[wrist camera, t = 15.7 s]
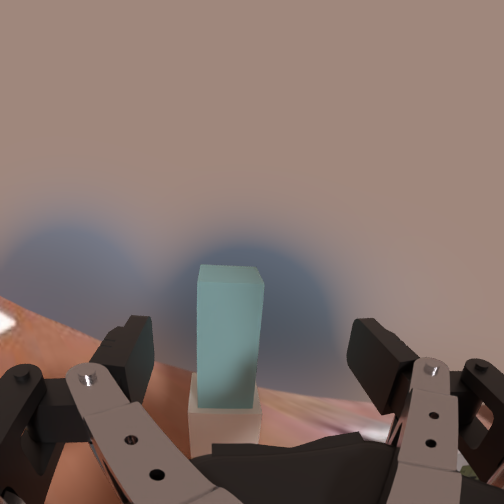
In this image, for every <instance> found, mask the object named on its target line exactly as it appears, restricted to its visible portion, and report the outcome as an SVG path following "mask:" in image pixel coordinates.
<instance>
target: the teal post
mask: <svg viewBox="0 0 504 504" xmlns="http://www.w3.org/2000/svg"><path fill="white" fill-rule="evenodd" d="M264 285H265V284H264V282H263V280H262V278H261V276H260V274H259V272H258V270H257V268H256V267H242V266H220V265H219V266H218V265H201V266H200V271H199V276H198V285H197V287H198V288H197V394H198V408H217V409H253V400H254V391H255V381H256V370H257V361H258V350H259V340H260V329H261V318H262V308H263V297H264Z"/></svg>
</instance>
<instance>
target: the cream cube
mask: <svg viewBox="0 0 504 504" xmlns="http://www.w3.org/2000/svg"><path fill="white" fill-rule="evenodd" d="M261 420H262V410H261V405H260V401H259V396H258V391H257V386H256V381H255V391H254V400H253V409H217V408H198V394H197V373H192V378H191V387H190V396H189V405H188V425H189V439H190V451H191V457H198V456H202V455H207V454H212V443H253V444H258V442H259V435H260V427H261Z"/></svg>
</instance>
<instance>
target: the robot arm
mask: <svg viewBox="0 0 504 504" xmlns="http://www.w3.org/2000/svg"><path fill="white" fill-rule="evenodd" d="M347 363H348V366H349V368H350V369H351V371H352V372H353V374H354V375H355V377H356V378H357V380H358V381H359V383H360V384H361V386H362V387H363V389H364V390H365V392H366V393H367V395H368V396H369V398H370V399H371V401H372V402H373V404H374V405H375V407H376V408H377V410H378V411H379V413H380V414H381V415H386V414H390V413H395V416H394V418H393V421H392V424H391V427H390V430H389V434H388V437H387V440H386V443H381V442H375V441H364V440H363V439H362V437H361V435H360V433H359V432H353V433H347V434H341V435H335V436H328V437H324V438H321V439H318V440H315V441H312V442H309V443H306V444H303V445H300V446H296V447H292V448H286V447H276V446H268V445H260V444H253V443H212V454H207V455H202V456H198V457H195V458H192V459H189V460H188V459H187V458H186V457H185V456H184V455H183V454H182V453H181V451H180V450H179V449H178V448H177V447H176V446H175V445H174V444H173V443H172V441H171V440H170V439H169V438H168V437H167V436H166V435H165V433H164V432H163V431H162V430H161V429H160V428H159V426H158V425H157V424H156V423H155V421H154V420H153V419H152V418H151V417H150V415H149V414H148V413H147V412H146V410H145V409H144V408H143V406H142V402H143V399H144V396H145V392H146V389H147V386H148V383H149V380H150V376H151V373H152V370H153V366H154V345H153V333H152V321H151V318H150V317H149V316H135V315H131V316H130V318H129V319H128V321H127V323H126V324H125V326H124V327H116V328H114V329H113V330H111V331H110V332H109V333H108V334H107V336H106V337H105V338H104V340H103V341H102V343H101V344H100V346H99V347H98V349H97V350H96V352H95V353H94V355H93V357H92V358H91V360H90V361H89V363H82V364H78V365H76V366H74V367H72V368H70V369H69V370H68V372H67V373H66V378H60V379H44V378H43V375H42V372H41V370H40V368H38V367H37V366H35V365H32V364H20V365H16V366H14V367H12V368H10V369H9V370H7V371H6V372H5V374H4V375H3V376H2V377H1V379H0V504H44V502H45V498H46V495H47V492H48V489H49V486H50V483H51V480H52V477H53V475H54V472H55V469H56V466H57V463H58V461H59V458H60V455H61V453H62V450H63V448H64V445H65V443H69V442H88V444H89V446H90V448H91V450H92V452H93V454H94V456H95V458H96V459H97V461H98V463H99V465H100V467H101V469H102V470H103V472H104V474H105V476H106V477H107V479H108V481H109V483H110V484H111V486H112V488H113V490H114V491H115V493H116V495H117V497H118V498H119V500H120V502H121V503H122V504H504V374H503V373H501V372H500V371H499V370H498V369H497V368H496V367H494V366H493V365H492V364H491V363H489V362H487V361H485V360H482V359H469V360H467V361H466V363H465V366H464V369H463V371H449V368H448V366H447V365H446V364H445V363H443V362H442V361H440V360H437V359H434V358H427V357H425V358H420V357H418V355H416V354H415V353H414V352H413V351H412V350H411V349H410V348H409V347H408V346H406V345H405V343H404V342H403V341H400V339H399V338H398V337H397V336H396V335H395V334H394V333H392V332H390V331H388V330H386V329H385V328H384V327H382V326H381V325H380V324H379V323H378V322H377V321H376V320H375V319H374V318H363V319H356V320H355V321H354V323H353V326H352V331H351V336H350V341H349V345H348V350H347ZM482 402H484V403H485V405H486V406H487V407H488V408H489V409H490V410H491V411H492V412H493V416H494V421H493V424H492V426H491V428H490V429H489V431H488V430H487V429H486V427H485V426H484V425H483V424H482V423H481V422H480V420H479V419H478V418H477V417H476V414H477V412H478V410H479V408H480V406H481V404H482ZM24 429H25V431H24ZM23 431H24V433H23ZM22 433H23V434H22ZM21 435H22V436H21ZM458 450H459V451H460V453H461V454H462V455H463V457H464V458H465V460H466V461H467V463H468V464H469V465H470V467H471V468H472V470H473V471H474V473H475V474H476V475H477V477H478V478H479V480H480V481H478V480H475V479H473V478H470V477H467V476H464V475H462V474H461V473H460V472H459V471H458V470H457V455H458Z"/></svg>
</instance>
